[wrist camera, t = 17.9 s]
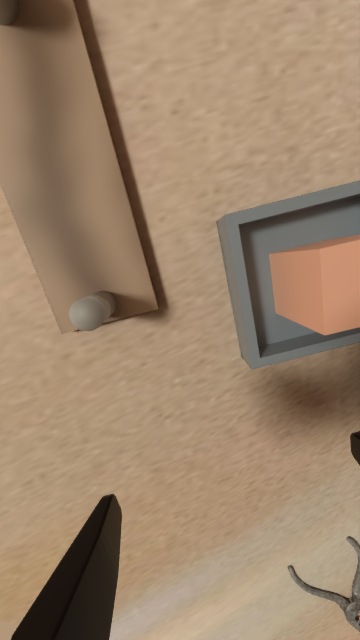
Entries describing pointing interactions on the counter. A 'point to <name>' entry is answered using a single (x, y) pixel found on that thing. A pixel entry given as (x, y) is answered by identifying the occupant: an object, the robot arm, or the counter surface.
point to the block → (319, 284)
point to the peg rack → (66, 170)
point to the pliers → (350, 605)
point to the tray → (255, 273)
